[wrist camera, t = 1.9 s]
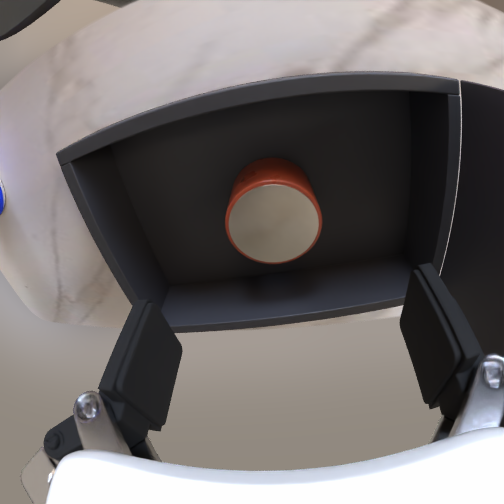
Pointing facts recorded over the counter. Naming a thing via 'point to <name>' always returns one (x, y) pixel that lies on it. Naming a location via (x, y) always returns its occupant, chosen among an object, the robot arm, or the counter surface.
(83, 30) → the counter surface
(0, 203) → the beverage can
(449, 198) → the open storage bin
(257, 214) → the coffee capsule
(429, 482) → the robot arm
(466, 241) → the lid
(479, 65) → the counter surface
